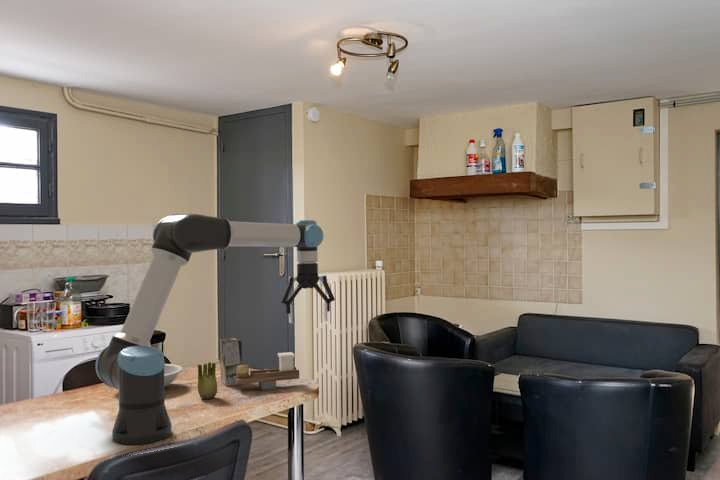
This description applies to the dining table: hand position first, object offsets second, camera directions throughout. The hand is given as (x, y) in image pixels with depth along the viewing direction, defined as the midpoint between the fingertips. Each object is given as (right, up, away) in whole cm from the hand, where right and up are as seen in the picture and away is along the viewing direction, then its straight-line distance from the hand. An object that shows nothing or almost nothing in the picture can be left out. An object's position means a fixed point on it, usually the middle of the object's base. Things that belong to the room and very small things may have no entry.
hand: (308, 321), depth 217 cm
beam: (-14, -23, -5) cm, 27 cm away
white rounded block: (-8, -18, -3) cm, 20 cm away
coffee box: (-29, -23, +4) cm, 37 cm away
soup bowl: (-57, -24, -4) cm, 62 cm away
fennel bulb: (-32, -23, -18) cm, 43 cm away
